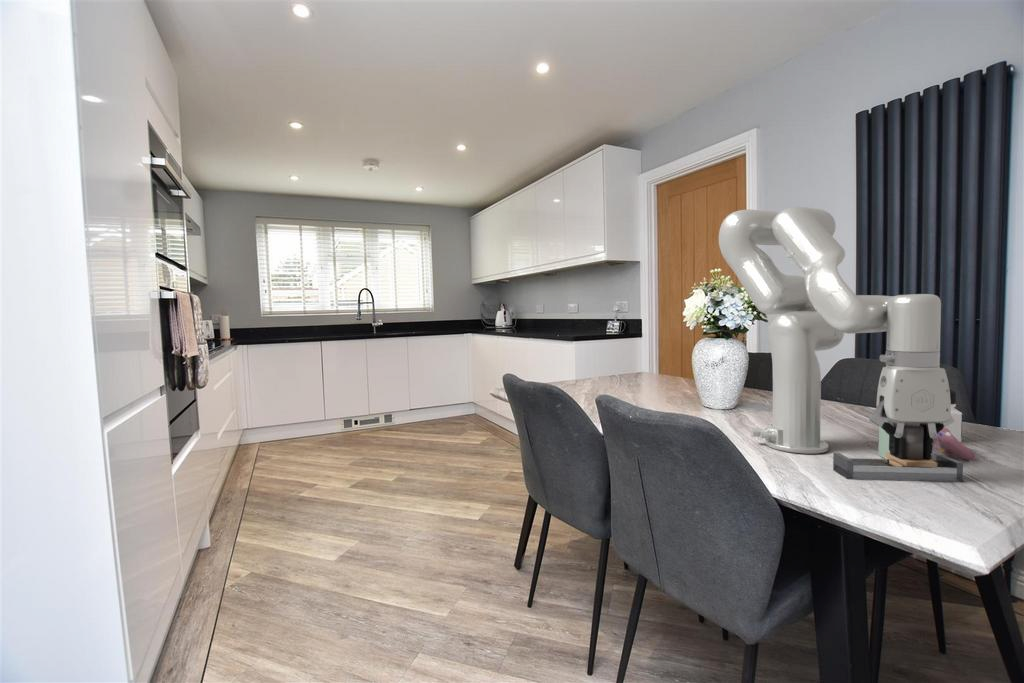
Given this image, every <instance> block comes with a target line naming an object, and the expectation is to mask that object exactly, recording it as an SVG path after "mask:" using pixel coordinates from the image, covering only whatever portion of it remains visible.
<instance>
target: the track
mask: <svg viewBox="0 0 1024 683" xmlns="http://www.w3.org/2000/svg"><path fill="white" fill-rule="evenodd" d="M832 458H833V459H832V460H833V461H832V463H833V466H832V467H833V468H832V470H833V471H834V472H836V473H837V474H839V475H840V476H842V477H843V478H846V479H847V480H873V481H874V480H875V481H877V480H879V481H905V482H906V481H909V482H910V481H911V482H915V481H916V482H947V483H948V482H950V483H951V482H954V483H962V482H963V481H964V480H963V479H964V478H963V477H964V462H962V461H959V460H958V459H957V460H956V459H954V458H951V457H949V456H947V455H945V454H936V455H935V459H931V460H932V461H934V462H937V467H905V466H893V465H891V464H889V459H884V458H873V457H872V458H864V457H863V458H861V457H854V458H853V457H847V456H845V455H844V454H842V453H840V452H833V457H832Z"/></svg>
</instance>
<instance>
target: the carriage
mask: <svg viewBox="0 0 1024 683" xmlns="http://www.w3.org/2000/svg"><path fill="white" fill-rule="evenodd" d="M902 438H905V440H906V445H905V458H904V459H899V458H897V457H895V456H893V455H891V454H890V453H886V452H885V457H887V458H890V459H889V464H891V465H893V466H905V467H937V462H934V461H932V460H933V459H925V458H923V439H924V427H923V426H919V425H913V424H904V429H903V434H902Z"/></svg>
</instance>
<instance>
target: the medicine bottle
mask: <svg viewBox="0 0 1024 683" xmlns="http://www.w3.org/2000/svg"><path fill="white" fill-rule="evenodd" d="M949 390H950V400H951V416H952V417H953V419H954V422H953V423H952V424H950V425H948V426H946V427H944V428H947V429H948V430H949V431H950V433H951V434H952V435H953V436H954V437H955V438H956V439H957V440H958V441H959V442H960V443H962V441H963V413H962V412H961V411H959V410H958V409H957V408H956V407H957V392H956V391H955V390H952V389H950V388H949Z"/></svg>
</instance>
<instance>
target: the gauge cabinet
mask: <svg viewBox="0 0 1024 683" xmlns="http://www.w3.org/2000/svg"><path fill="white" fill-rule="evenodd" d="M883 420H884V421H886V422H887V421H888V418H884V417H883ZM905 424H913V425H918V423H905ZM877 452H878V455H879V457H880V456H881V457H880V458H882V457H883V458H882V459H884V458H885V459H890V458H887V457H885V452H886V453H890V451H889V434H887V433H886V431H885V430H883V429H882V428H881V427H880V426H879V425H878V451H877Z"/></svg>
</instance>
